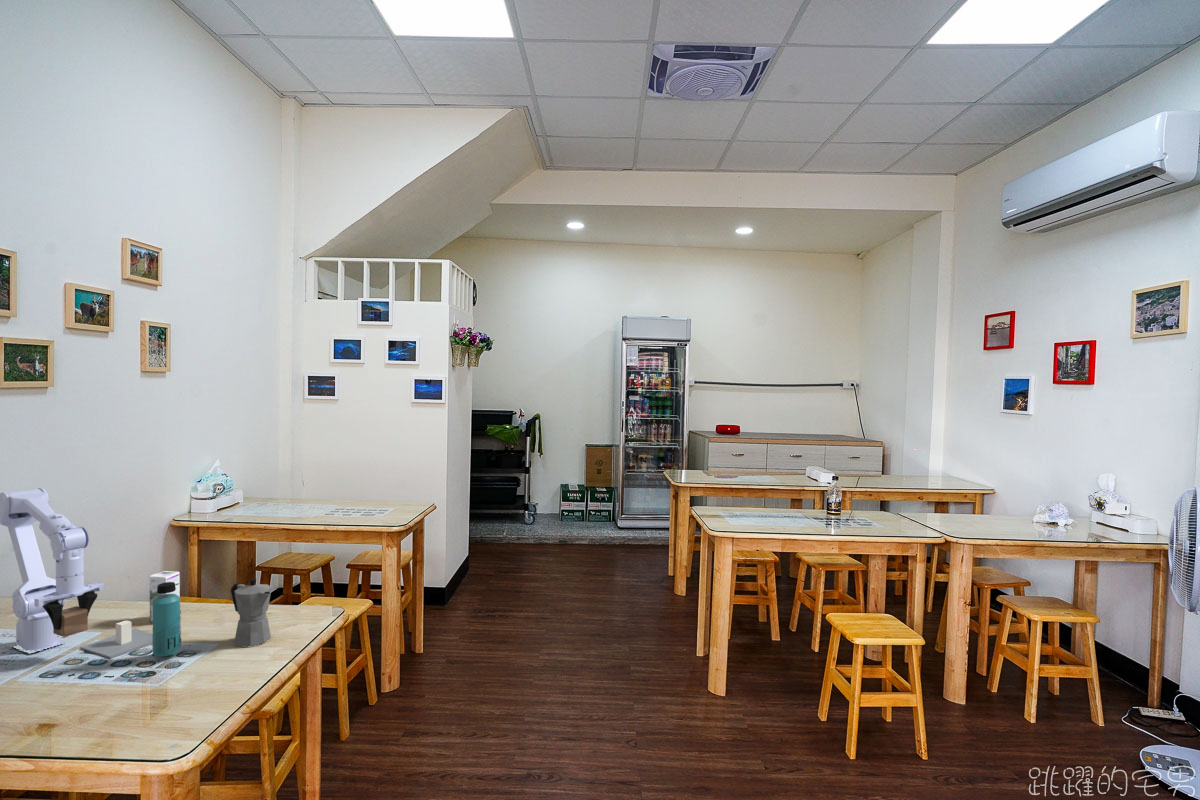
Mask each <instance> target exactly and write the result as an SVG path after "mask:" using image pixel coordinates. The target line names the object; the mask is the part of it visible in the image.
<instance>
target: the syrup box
mask: <svg viewBox="0 0 1200 800" xmlns="http://www.w3.org/2000/svg"><path fill="white" fill-rule="evenodd" d="M148 581H149V583H148V584H149V586H148V587H149V588H148V589H149V622H150V623H153V604H152V602H153V601H154V600H155V599H156V598H157V597H158V596H160V595H164V594H159V593H157V587H158V585H159V584H161V583H165V582H174V583H175V587H176V590H175V591H173V592H170V593H165V594H176V595H178V596H179V597H180V593H181V592H180V586H181V585H180V583H181V581H180V571H172V570H169V571H168V570H162V571H161V570H160V571H158V572H156V573H153V574H151V575H149V580H148ZM180 598H181V597H180Z"/></svg>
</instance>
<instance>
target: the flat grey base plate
mask: <svg viewBox="0 0 1200 800" xmlns="http://www.w3.org/2000/svg"><path fill="white" fill-rule="evenodd" d="M132 625H133V624H132V621H130V620H123V621H120V622H117V623H115V635H112V636H109V637H106V638H103V639H101V640H98V641H94V642H92V643H88V644H85V645H82V646H80V647H79V649H80V650H82V649H83V651H85V650H86V652H89V653H92V654H94V655H97V656H101V657H104V658H108V659H111V660H112V659H115V658H116V657H119V656H122V655H125V654H128V653H131V652H134V651H136V650H139V649H141V648H144V647H147V646H150V645H152V644H153V642H152V641H153V632H149V631H145V630H140V629H139V628H138V629H136V628H134V629H132V628H133V627H132Z"/></svg>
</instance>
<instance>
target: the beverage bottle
mask: <svg viewBox="0 0 1200 800" xmlns="http://www.w3.org/2000/svg"><path fill="white" fill-rule="evenodd" d="M175 590H176V587H175V583H174V582H165V583H161V584H159V585H158V587H157V593H159V594H164V595H160V596H158V597H157V598H156V599H155V600H154V601H153V602H152V604H153V622H152V634H153V641H152V642H153V644H151V646H152V655H153V656H154V657H168V656H171V655H172V656H173V655H174V654H177V653H178V652H180V650H181V648H182V631H181V630H182V627H181V619H182V616H181V613H182V610H181V597H179V596H178V595H176V594H165V593H170V592H173V591H175Z"/></svg>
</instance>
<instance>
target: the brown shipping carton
mask: <svg viewBox="0 0 1200 800" xmlns="http://www.w3.org/2000/svg"><path fill="white" fill-rule="evenodd" d="M88 617H89V614H88V609H85V608H81V607H79V605H78V606H77V605H75V606H71V607H68V608H65V609H64V608H63V609H62V615H61V629H59V630H56V629H54V628H53V633H54V634H57V636H60V637H63V638H67V637H69V636H72V635H75V634H79V633H83V632H85V631H88V630H89V629H88V628H89V627H88V626H89V625H88V624H89V623H88V622H89V621H88V620H89V618H88Z"/></svg>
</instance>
